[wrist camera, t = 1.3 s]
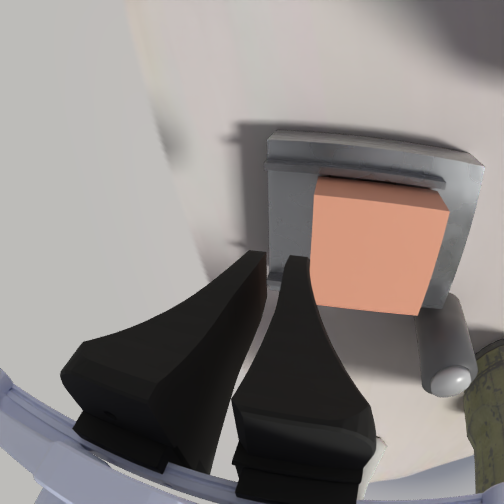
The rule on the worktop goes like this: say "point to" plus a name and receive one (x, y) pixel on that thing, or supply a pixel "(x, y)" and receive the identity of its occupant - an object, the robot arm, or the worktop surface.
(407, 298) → the orange square block
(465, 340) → the plug
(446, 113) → the worktop surface
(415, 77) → the worktop surface
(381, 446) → the flask
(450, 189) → the socket plate
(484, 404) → the green stone statue
